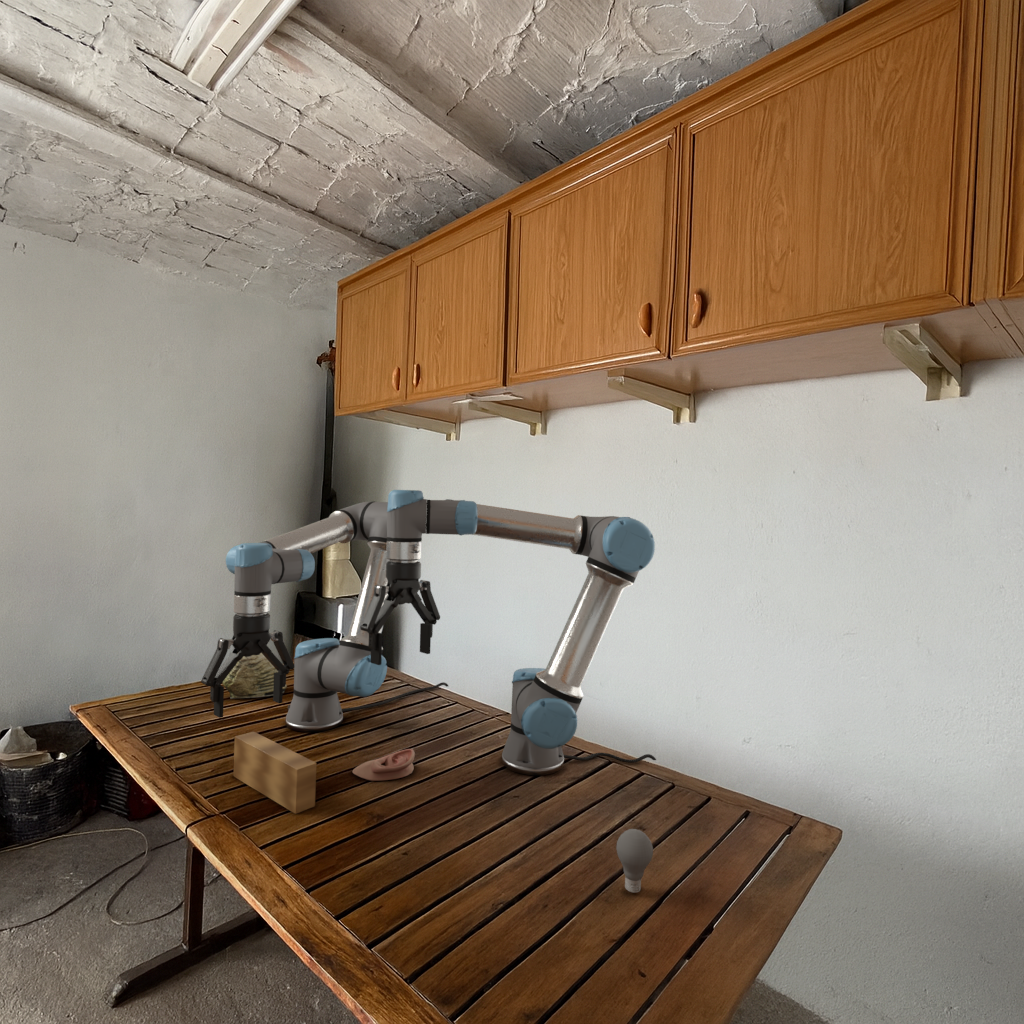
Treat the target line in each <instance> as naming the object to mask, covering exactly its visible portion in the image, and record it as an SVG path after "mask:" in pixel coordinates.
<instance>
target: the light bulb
mask: <svg viewBox="0 0 1024 1024" xmlns="http://www.w3.org/2000/svg"><path fill="white" fill-rule="evenodd" d="M615 849H616V854H617V857H618V859H619V861H620V863H621V865H622V867H623V873H624V874H623V875H624V876H625V878H624V888H625V890H627V891H628V892H630V893H634V894H635V893H639V892H640V891H641V889H642V887H641V886H642V879H643V877H644V875H645V871H646V868H647V867H648V866H649V864H650V863H651V861H652V859H653V855H654V847H653V843H652V841H651V838H649V836H648V835H647V834H646V833H645V832H643V831H642V830H641V829H636V828H629V829H627V830H625V831H623V832H622V833H621V834H620V835H619V837H618V839H617V841H616V847H615Z"/></svg>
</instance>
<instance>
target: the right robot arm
mask: <svg viewBox="0 0 1024 1024" xmlns="http://www.w3.org/2000/svg"><path fill="white" fill-rule="evenodd" d="M387 496H388V497H387V502H388V509H387V547H386V558H387V559H389V561H388V562H387V563H386V578H387V581H388V582H387V585H386V586H382V585H375V587H374V594H373V598H372V600H371V602H370V605H369V607H368V610H367V612H366V614H365V617H364V619H363V622H362V624H361V627H360V629H361V630H363V631H367V632H368V633H369V644H368V646H369V648H371V663H373V664H377V665H381V663H382V656H383V651H382V647H383V633H379V631H380V629H381V628H382V626H383V627H384V625H385V623H386V622H387V621H388V618H389V617H390V615H391V614H392V612H393V611H394V610H395V608H397V607H398V606H401V605H405V604H408V605H409V604H411V606H412V607H413V609H414V610H415V611H416V613H417V615H418V616H419V618H420V619H421V620H422V622H421V623H420V624H419V625H420V626H419V627H420V630H419V653H422V654H426V655H431V640H432V638H433V632H434V631H433V630H434V629H433V628H434V626H435V625H436V624H437V621H440V620H441V615H440V612H439V609H438V607H437V604H436V601H435V598H434V595H433V593H432V589H431V581H429V580H424V579H421V577H422V563H421V562H420V561H419V560H422V545H423V544H422V543H423V542H422V541H423V535H425V534H426V535H457V536H467V535H468V536H469V535H471V536H478V537H479V536H480V537H484V538H485V537H486V538H490V539H491V538H492V539H499V540H505V541H513V542H518V543H525V544H526V543H527V544H533V545H538V546H539V545H540V546H546V547H553V548H558V549H559V548H560V549H567V550H569V552H571V554H572V555H580V556H584V557H587V559H586V561H585V565H586V568H587V573H588V574H587V576H586V577H585V579H584V582H583V585H582V586H581V589H580V591H579V594H578V596H577V598H576V600H575V602H574V605H573V607H572V609H571V611H570V614H569V616H568V618H567V620H566V623H565V625H564V627H563V629H562V632H561V634H560V636H559V638H558V641H557V643H556V645H555V646H554V650H553V652H552V654H551V656H550V659H549V660H548V662H547V666H546V668H545V667H544V668H543V667H541V668H540V667H525V668H519V669H516V670H515V671H513V673H512V680H511V684H512V688H511V689H512V691H511V714H510V731H509V733H508V736H507V739H506V741H505V744H504V747H503V750H502V753H501V763H502V765H503V766H504V767H505V768H506V769H508V770H509V771H511V772H515V773H517V774H521V775H527V776H546V775H547V776H548V775H552V774H555V773H557V772H560V771H561V770H562V769H563V768H564V766H565V765H564V764H565V759H566V760H567V759H568V760H574V761H579V762H585V761H589V760H592V759H594V758H597V757H606V758H607V757H608V758H611V759H613V760H616V761H619V762H622V763H625V764H636V763H639V762H642V761H643V760H645V759H651V760H653V761H657V758H656V757H655V756H654V755H653V754H650V753H647V754H643V755H640V756H639V757H637V758H635V759H633V758H632V759H628V758H623V757H620V756H617V755H616V754H615V755H614V754H611V753H607V752H595V753H592V754H590V755H588V756H582V757H581V756H575V755H568V754H564V750H563V746H564V745H566V744H568V743H569V742H570V741H572V739H573V737H574V736H575V734H576V731H577V729H578V715H577V712H578V710H579V709H580V708H579V707H580V705H581V703H582V701H583V698H584V693H583V690H582V683H583V682H584V679H585V677H586V675H587V673H588V671H589V668H590V666H591V663H592V661H593V659H594V656H595V655H596V652H597V650H598V648H599V645H600V643H601V641H602V639H603V637H604V634H605V632H606V629H607V627H608V625H609V623H610V620H611V618H612V617H613V614H614V612H615V609H616V607H617V605H618V603H619V600H620V599H621V596H622V593H623V592H624V589H626V588H628V587H631V586H633V585H634V583H635V581H636V579H637V577H638V574H639V572H640V571H642V570H643V569H645V568H646V567H647V566H648V565H649V564H650V563H651V562H652V560H653V558H654V555H655V550H656V541H655V538H654V535H653V533H652V531H651V529H650V528H649V527H648V526H647V525H646V524H645V523H644V522H642V521H640V520H638V519H636V518H633V517H630V516H614V515H607V516H589V515H582V514H581V515H580V514H578V515H576V516H575V517H565V516H560V515H552V514H546V513H539V512H533V511H526V510H521V509H520V510H519V509H512V508H506V507H500V506H493V505H486V504H481V503H477V502H476V501H472V500H465V499H450V498H449V499H426V498H424V493H423V491H422V490H419V489H416V490H415V489H412V490H411V489H393V490H391V491H390V492H389V493H388V495H387ZM419 579H420V580H419ZM418 592H419V593H418ZM387 594H388V595H387ZM419 594H420V595H419ZM385 595H387V597H386V598H385ZM384 599H385V600H384ZM383 603H384V604H383ZM382 604H383V605H382ZM381 606H382V607H381Z"/></svg>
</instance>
